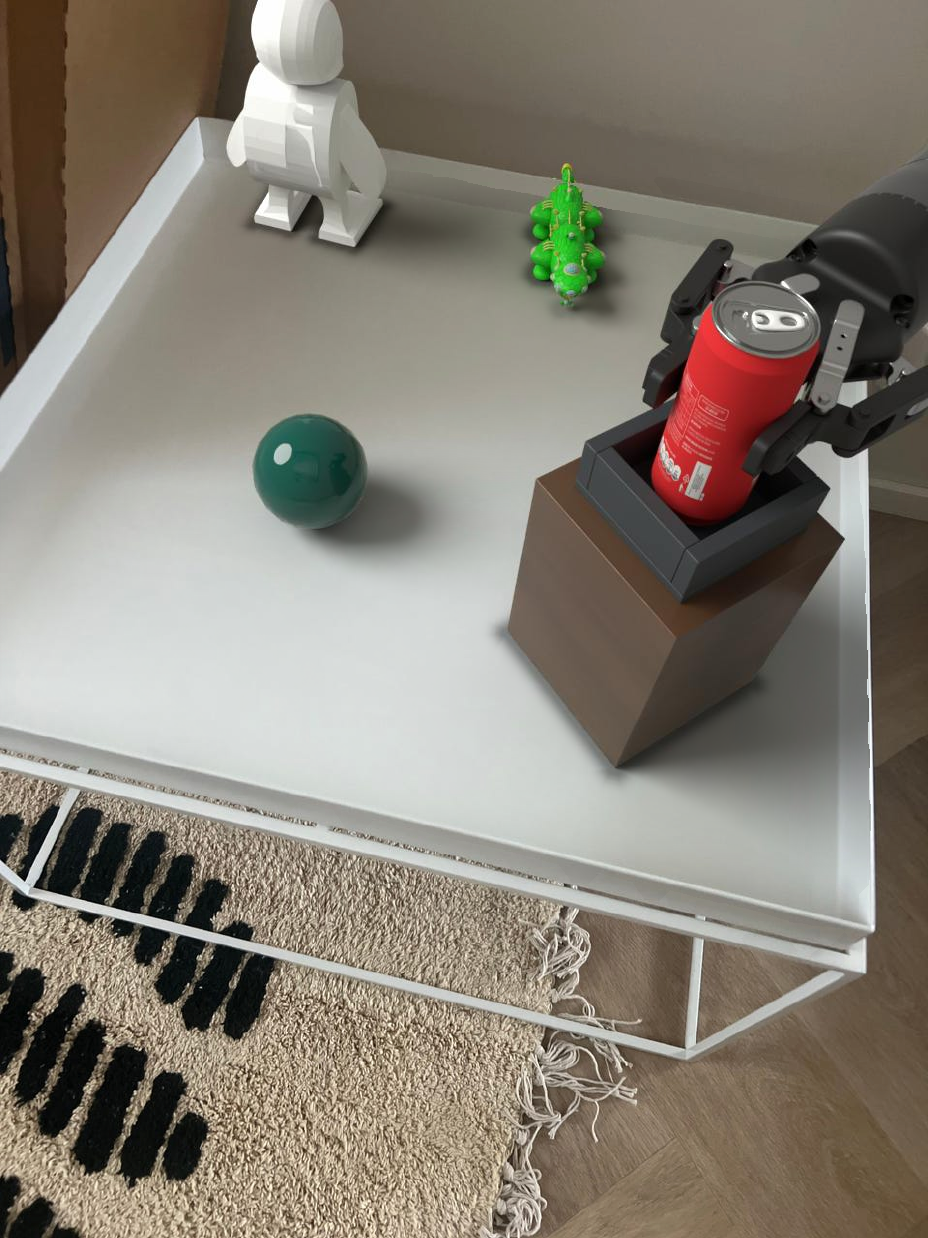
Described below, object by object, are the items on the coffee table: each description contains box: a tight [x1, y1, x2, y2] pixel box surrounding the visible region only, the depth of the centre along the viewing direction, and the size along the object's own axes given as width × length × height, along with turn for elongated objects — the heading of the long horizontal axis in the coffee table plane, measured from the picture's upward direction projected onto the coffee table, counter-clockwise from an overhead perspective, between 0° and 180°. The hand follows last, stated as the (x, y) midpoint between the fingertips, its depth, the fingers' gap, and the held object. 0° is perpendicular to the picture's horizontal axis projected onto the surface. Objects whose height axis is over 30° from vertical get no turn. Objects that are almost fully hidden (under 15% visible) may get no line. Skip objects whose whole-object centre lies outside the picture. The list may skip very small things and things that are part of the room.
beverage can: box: [651, 281, 821, 527], centre depth 47 cm, size 5×5×12 cm
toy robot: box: [225, 0, 387, 248], centre depth 80 cm, size 14×9×20 cm, turn 73°
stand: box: [506, 456, 846, 769], centre depth 60 cm, size 12×12×16 cm
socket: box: [574, 397, 831, 604], centre depth 51 cm, size 9×9×4 cm
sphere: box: [251, 412, 369, 530], centre depth 68 cm, size 8×8×8 cm
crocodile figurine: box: [529, 163, 607, 307], centre depth 87 cm, size 7×18×4 cm, turn 178°
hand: (702, 425), depth 45 cm, fingers closed on beverage can, 5 cm apart
